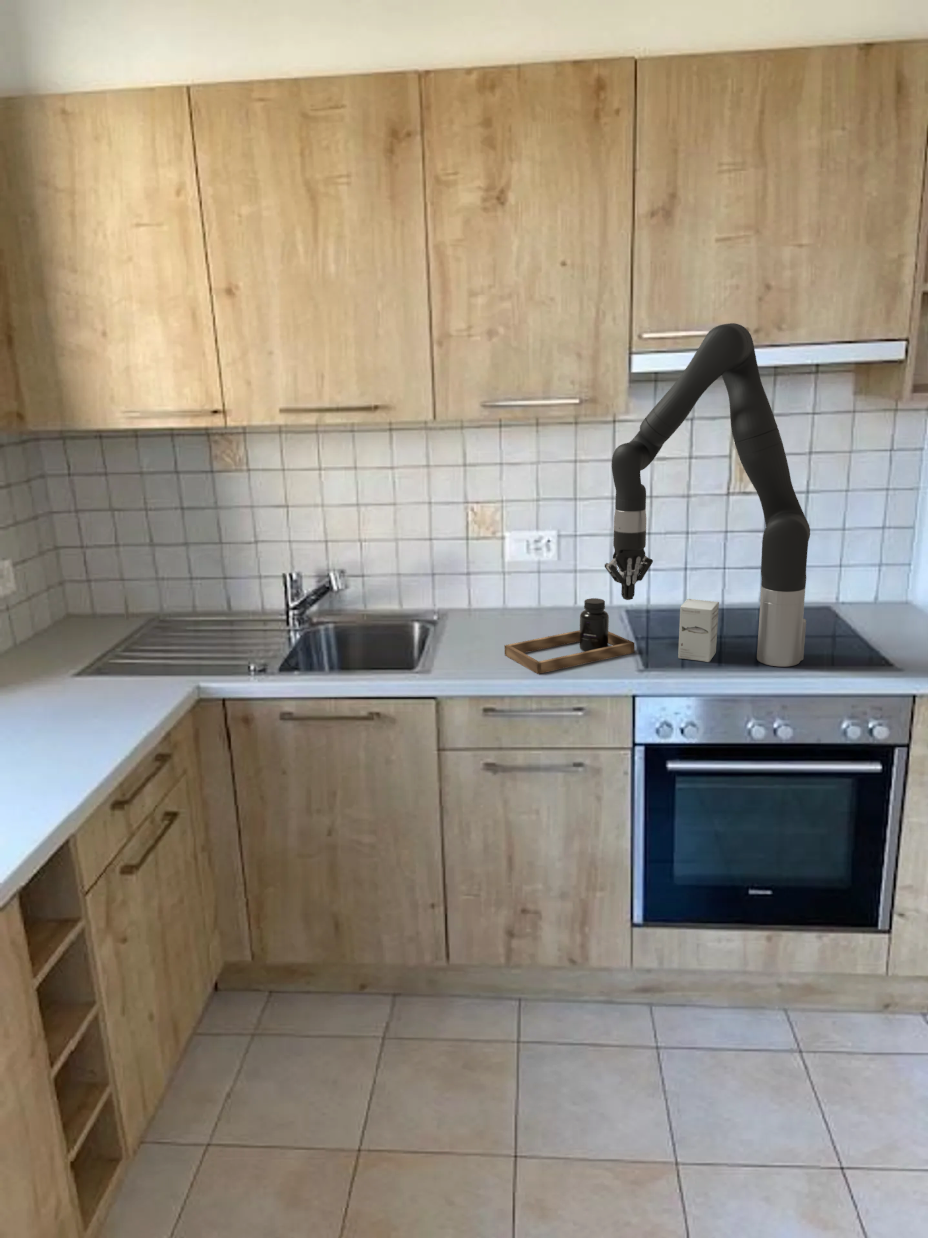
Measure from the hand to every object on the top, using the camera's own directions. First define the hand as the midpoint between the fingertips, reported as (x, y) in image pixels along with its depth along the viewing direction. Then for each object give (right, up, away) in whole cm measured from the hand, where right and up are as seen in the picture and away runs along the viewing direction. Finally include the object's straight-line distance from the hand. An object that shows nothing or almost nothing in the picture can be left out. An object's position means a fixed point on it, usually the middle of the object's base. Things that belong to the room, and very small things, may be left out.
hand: (627, 598), depth 216 cm
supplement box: (+15, -14, -8) cm, 22 cm away
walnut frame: (-15, -13, -4) cm, 20 cm away
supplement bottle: (-8, -12, -1) cm, 15 cm away
